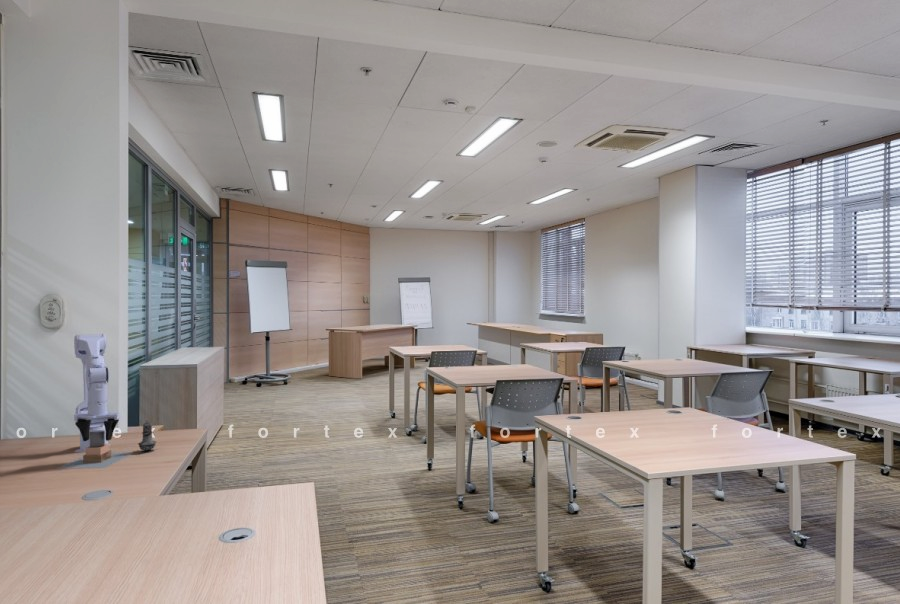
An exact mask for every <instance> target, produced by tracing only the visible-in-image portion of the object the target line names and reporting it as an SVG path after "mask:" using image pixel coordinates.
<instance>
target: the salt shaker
mask: <svg viewBox="0 0 900 604" xmlns="http://www.w3.org/2000/svg"><path fill="white" fill-rule="evenodd" d="M152 426H153V424H152V423H151V422H149V420H148V419H147V420H146V421H145V422H144V423H143V425H142V432H141V434H142V440H141V442H139V443H137V444H138V447H139V449H140V450H141V451H140V454H148V453H153V452H155V449H154V448H155V446H156V443H157V441H156V440H154V439H153V433H154V432H153V428H152Z"/></svg>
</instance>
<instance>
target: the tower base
mask: <svg viewBox="0 0 900 604" xmlns="http://www.w3.org/2000/svg"><path fill="white" fill-rule="evenodd" d="M111 453H112V450H110V449H109V451H108V452H106V453H103V454H101V455H86V454H83V455H82V457H83V463H99V462H103V461H105V460H107V459H109V458H111Z"/></svg>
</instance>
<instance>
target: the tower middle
mask: <svg viewBox="0 0 900 604" xmlns="http://www.w3.org/2000/svg"><path fill="white" fill-rule="evenodd" d="M109 444H110V443H108V444H105V445H104V446H102V447H96V448H90V446H89V447H87V448H86V452H85V455H101V454H103V453H106V452H108V451H109V450H110V445H109Z"/></svg>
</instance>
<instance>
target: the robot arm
mask: <svg viewBox="0 0 900 604" xmlns="http://www.w3.org/2000/svg"><path fill="white" fill-rule="evenodd" d="M73 342H74V343H73V344H74V347H73V348H74V355H75V358H77V359H79V360H80V361H81V363H82V369H83V370H82V371H83V372H82V374H83V375H82V377H83V379H82V380H83V401H82V402H81V403H79V404H77V406H76V407H75V414H74V417H73V421H75V426H76V427H77V429H78V430H79V449H76V450H75V451H74V453H86V448H87V447H89V446H90V432H92V431H98V430H104V431H105V444H109V446H111V443H109V441H111V440H112V437H113V434H114V431H115V428H116V426H117V425H118V423H119V421H120V419H121V413H119V412H108V383H109V380H110V370H109V367H108V366H107V365H106V363H105V358H104V354H105V351H106V348H107V347H106V346H107V336H106V334H105V333H100V334H99V333H97V334H94V333H93V334H75V335H74V340H73Z"/></svg>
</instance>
